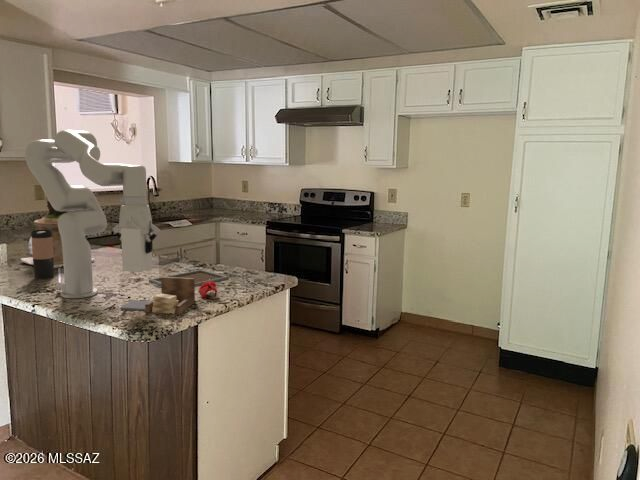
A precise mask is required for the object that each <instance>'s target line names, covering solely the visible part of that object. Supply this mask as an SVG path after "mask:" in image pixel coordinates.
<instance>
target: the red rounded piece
mask: <svg viewBox="0 0 640 480" xmlns="http://www.w3.org/2000/svg"><path fill="white" fill-rule="evenodd" d="M211 291H214V297H217V294H218V289H217V284H216V282H206V283H204V284H202V285H200V287H199V289H198V292H199V294H200V295H201V297H202V298H204V299H207V294H208V293H209V292H211Z"/></svg>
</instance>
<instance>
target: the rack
mask: <svg viewBox="0 0 640 480" xmlns="http://www.w3.org/2000/svg"><path fill="white" fill-rule="evenodd" d="M160 277H161V288H160V289H161V293H160V294H168V295H174V296H176V298H177V300H179V304H178V305H177V306H176V314H175V315H177V316H180V315H182V314H183V313H184V312H185V311H186V310H187V309H188V308H190V307H191V306H192V305H193V304H194V303H196V301H195V300H196V299H195V298H196V295H195V294H196V292H195V291H196V290H195V289H196V286H195V282H194V278H180V277H165V276H160ZM149 301H150V302H148V303H147V304H145V314H150V313H151V312H152V307H153V301H154V298H152V299H151V300H149Z"/></svg>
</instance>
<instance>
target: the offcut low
mask: <svg viewBox="0 0 640 480" xmlns="http://www.w3.org/2000/svg"><path fill="white" fill-rule="evenodd" d="M151 312H152V313H153V314H156V313H157V314H169V313H172V315H173V314H175V313H176V308H174V309H167V308H156V307H152V311H151ZM175 315H176V314H175Z"/></svg>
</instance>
